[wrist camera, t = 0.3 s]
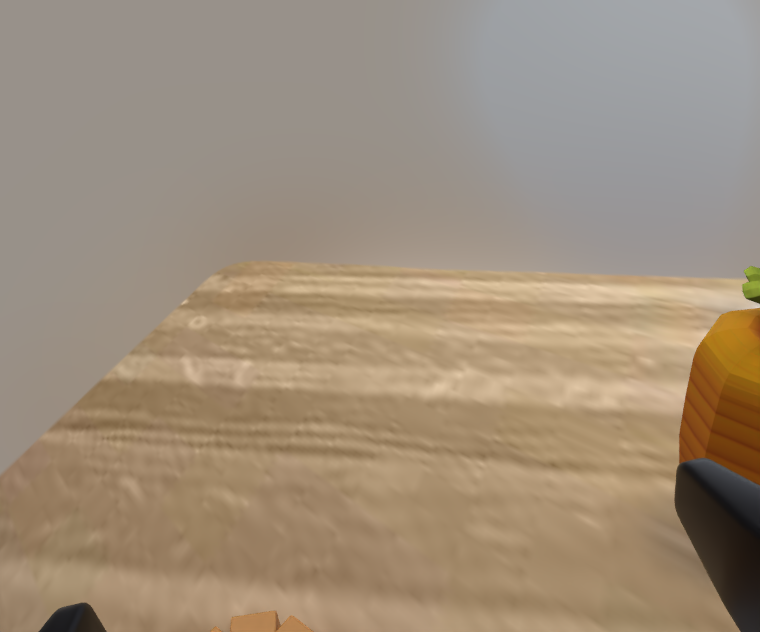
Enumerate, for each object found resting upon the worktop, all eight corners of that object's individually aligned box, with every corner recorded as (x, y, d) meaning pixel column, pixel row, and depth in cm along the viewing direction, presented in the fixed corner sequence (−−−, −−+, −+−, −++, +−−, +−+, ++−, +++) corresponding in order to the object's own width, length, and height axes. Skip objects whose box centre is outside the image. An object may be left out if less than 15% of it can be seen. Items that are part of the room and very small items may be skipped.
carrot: (789, 615, 25) (950, 286, 17) (650, 584, 27) (733, 267, 18) (770, 513, 29) (895, 201, 21) (650, 491, 31) (719, 191, 22)
